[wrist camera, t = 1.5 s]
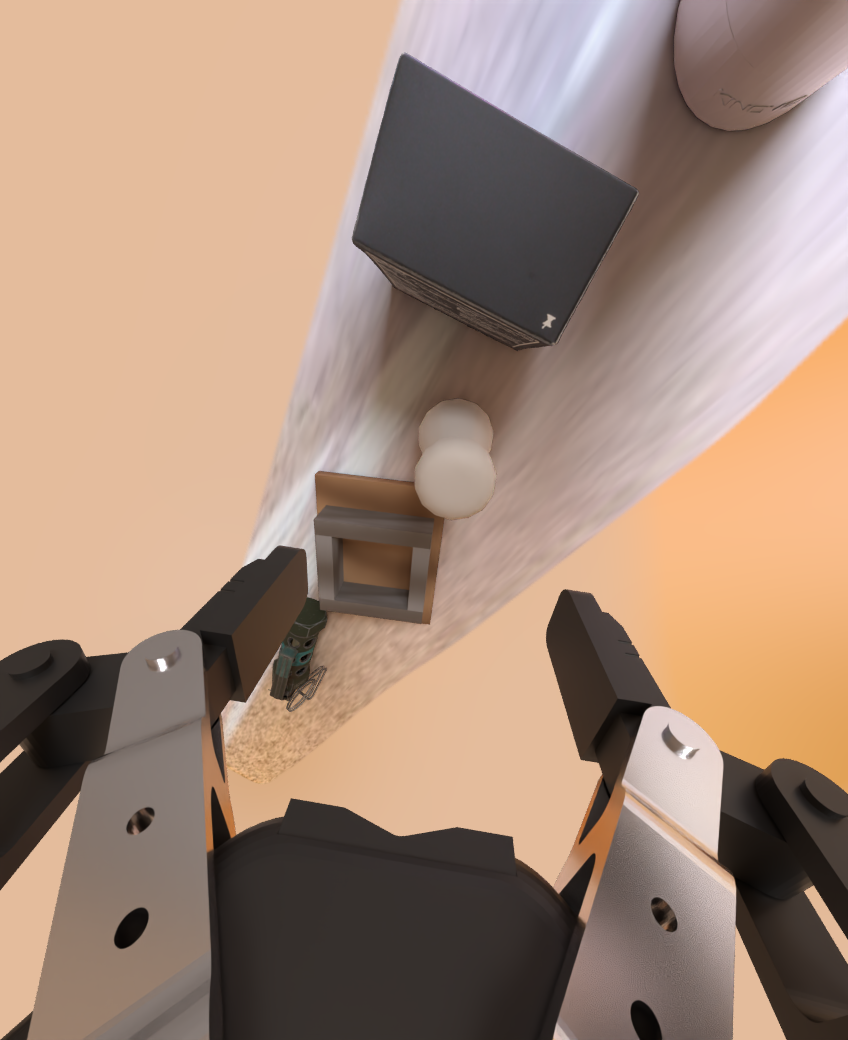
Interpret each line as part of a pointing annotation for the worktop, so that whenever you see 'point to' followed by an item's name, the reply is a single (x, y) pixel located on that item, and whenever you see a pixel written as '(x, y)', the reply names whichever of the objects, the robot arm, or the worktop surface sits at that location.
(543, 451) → the worktop surface
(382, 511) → the socket board
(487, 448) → the salt shaker
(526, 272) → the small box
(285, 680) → the stun grenade
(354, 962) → the robot arm
